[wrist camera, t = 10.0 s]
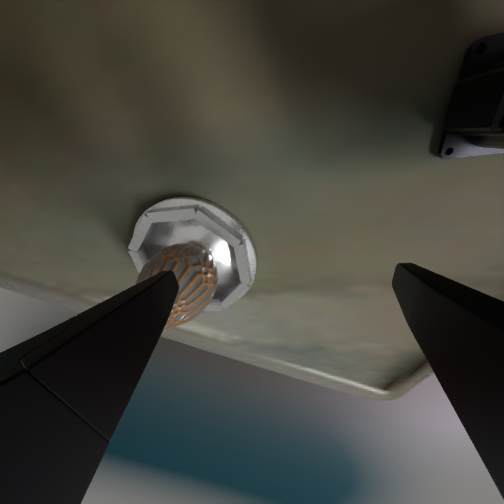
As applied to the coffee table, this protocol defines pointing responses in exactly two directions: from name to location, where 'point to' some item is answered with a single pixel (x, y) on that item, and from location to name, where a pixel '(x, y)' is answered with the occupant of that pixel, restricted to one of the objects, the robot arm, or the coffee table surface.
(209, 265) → the vase
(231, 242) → the rosette plate
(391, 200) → the coffee table surface
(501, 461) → the robot arm
